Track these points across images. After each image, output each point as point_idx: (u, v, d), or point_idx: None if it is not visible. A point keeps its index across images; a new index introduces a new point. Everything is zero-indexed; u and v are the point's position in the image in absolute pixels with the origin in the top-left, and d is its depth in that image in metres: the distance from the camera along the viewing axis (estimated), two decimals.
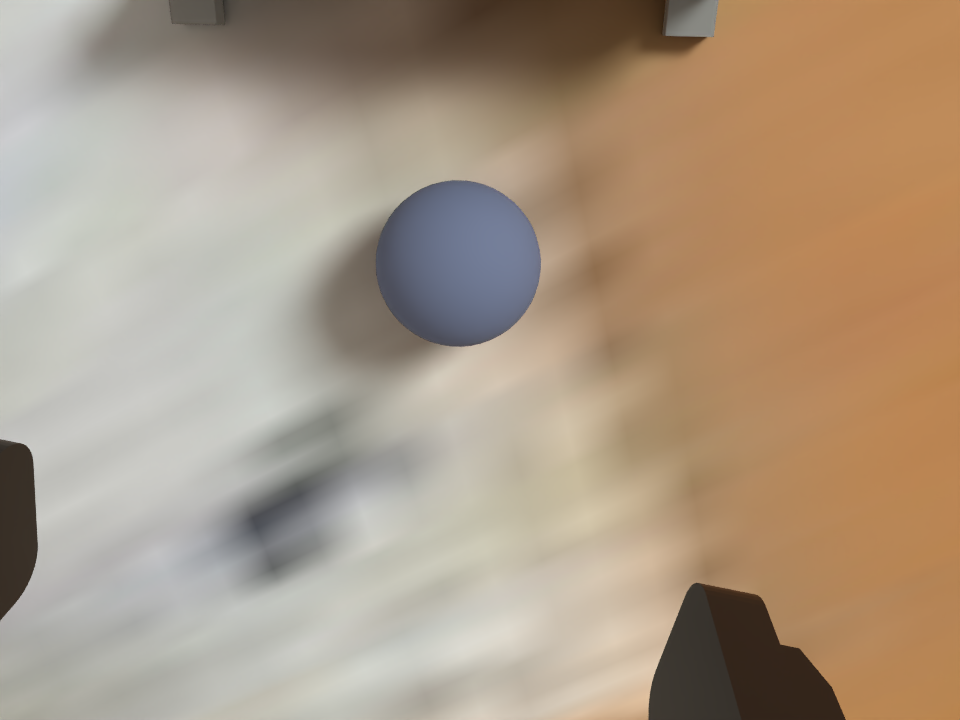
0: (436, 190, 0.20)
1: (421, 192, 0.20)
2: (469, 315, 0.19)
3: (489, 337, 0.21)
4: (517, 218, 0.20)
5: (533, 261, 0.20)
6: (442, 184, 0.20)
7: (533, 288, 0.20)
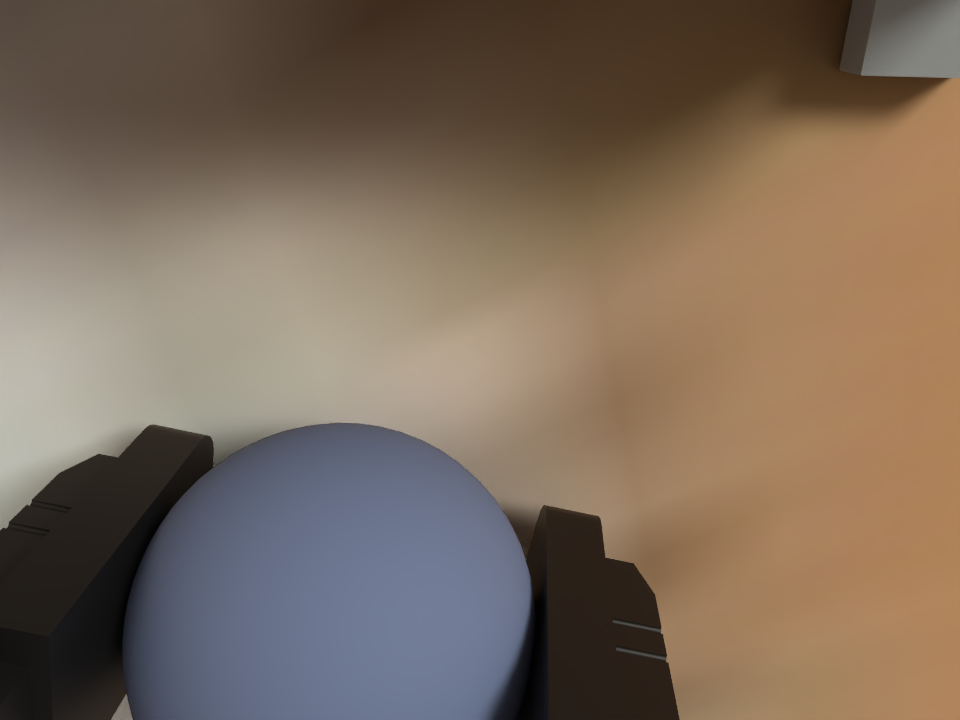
0: (259, 487, 0.07)
1: (226, 483, 0.08)
2: None
3: None
4: (475, 554, 0.08)
5: (516, 659, 0.08)
6: (281, 459, 0.08)
7: (518, 709, 0.08)
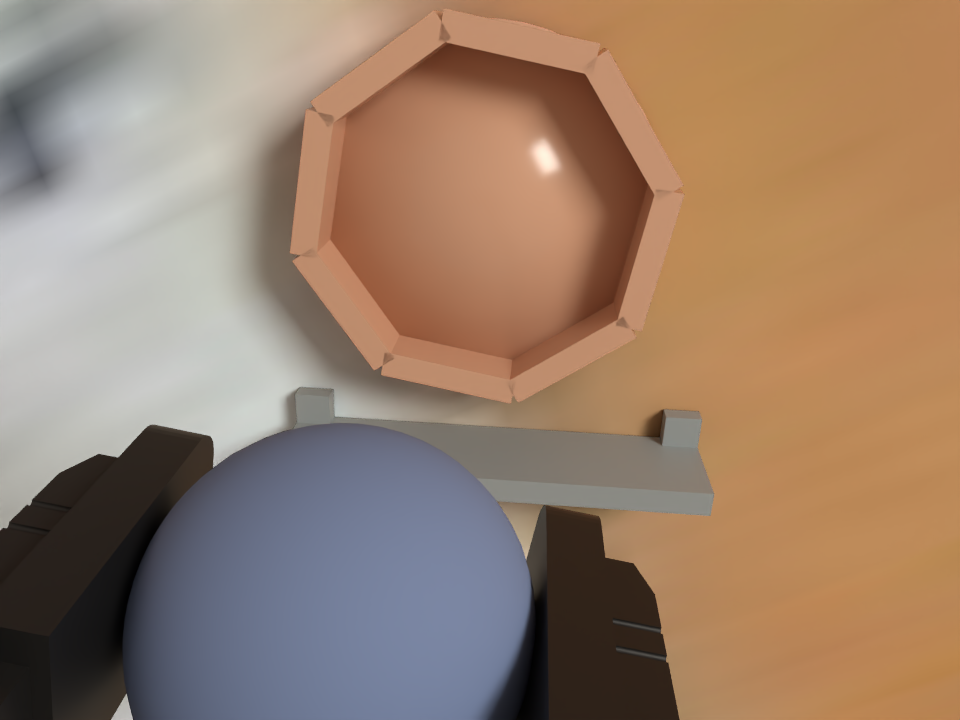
0: (260, 487, 0.07)
1: (226, 483, 0.08)
2: None
3: None
4: (476, 554, 0.08)
5: (517, 659, 0.08)
6: (282, 459, 0.08)
7: (518, 709, 0.08)
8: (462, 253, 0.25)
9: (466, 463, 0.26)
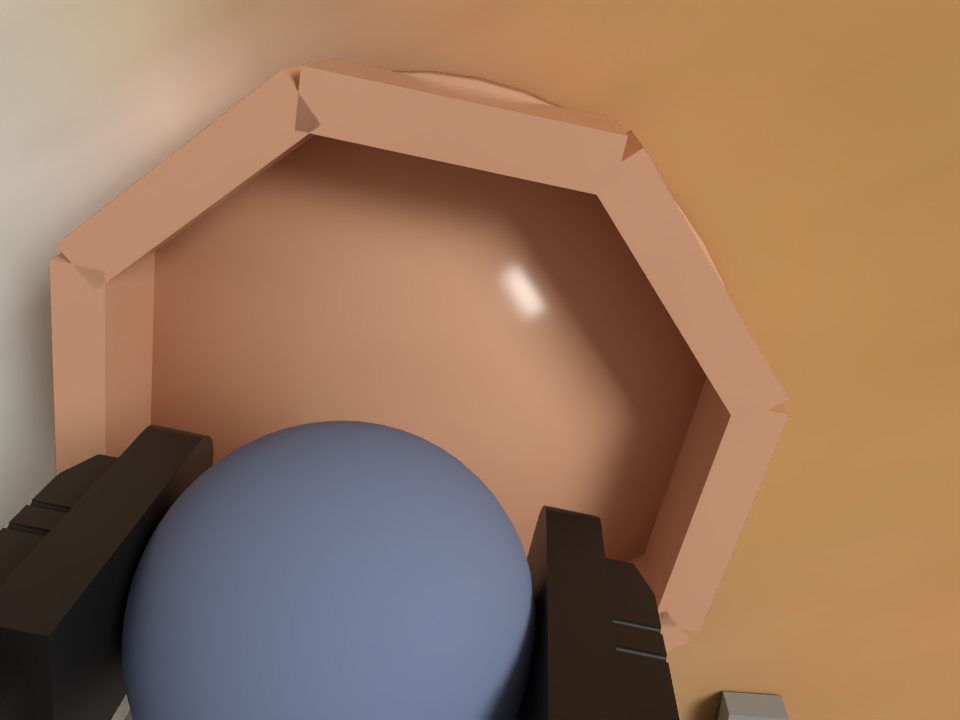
0: (259, 484, 0.07)
1: (226, 480, 0.08)
2: None
3: None
4: (476, 552, 0.08)
5: (518, 657, 0.08)
6: (282, 457, 0.08)
7: (519, 707, 0.08)
8: None
9: None
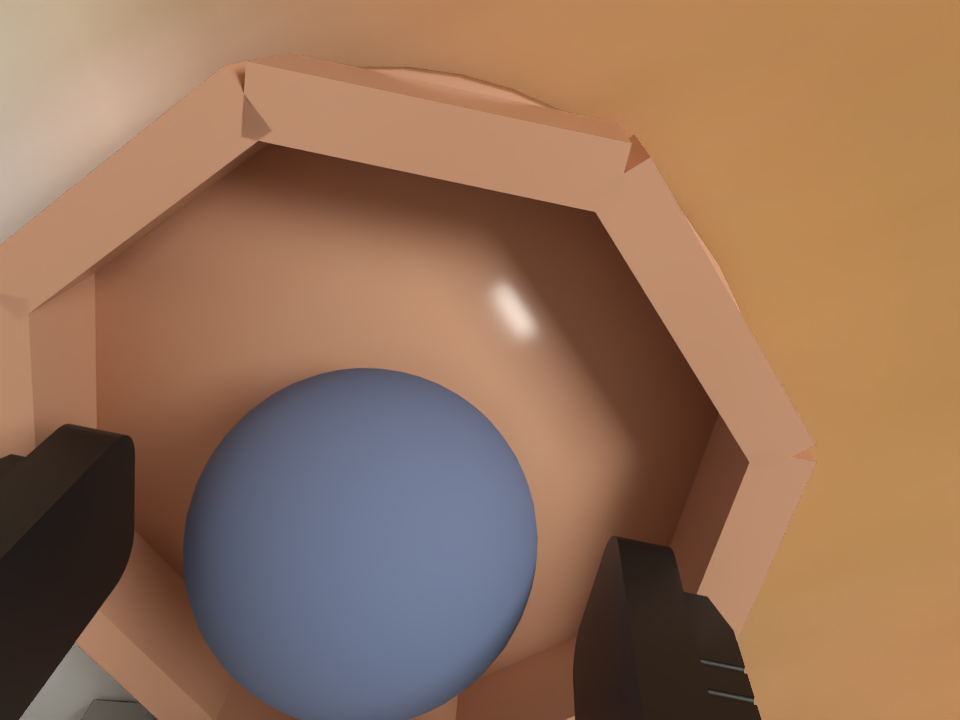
0: (303, 413, 0.09)
1: (273, 412, 0.09)
2: (375, 708, 0.08)
3: None
4: (487, 472, 0.09)
5: (521, 564, 0.09)
6: (320, 392, 0.09)
7: (522, 610, 0.09)
8: None
9: None
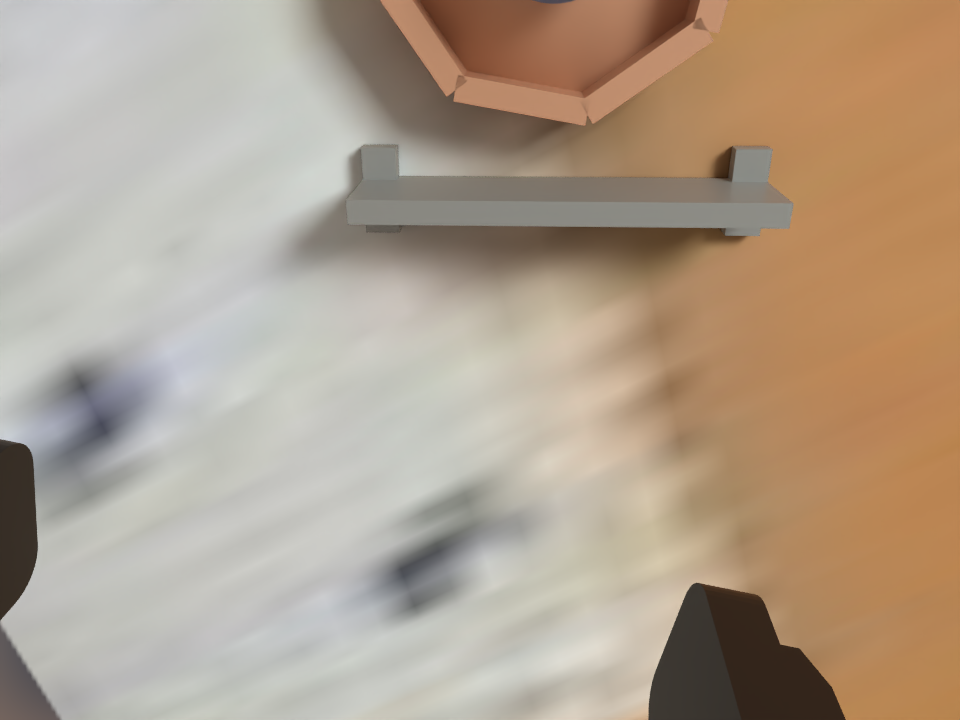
0: None
1: None
2: None
3: None
4: None
5: None
6: None
7: None
8: None
9: (540, 194, 0.25)
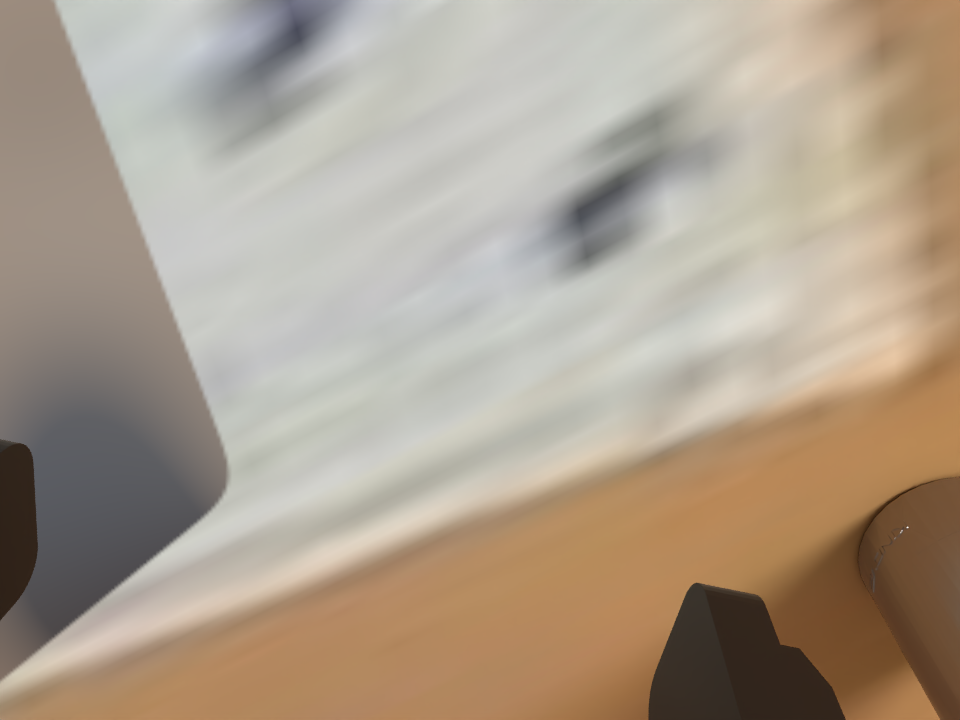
0: None
1: None
2: None
3: None
4: None
5: None
6: None
7: None
8: None
9: None
